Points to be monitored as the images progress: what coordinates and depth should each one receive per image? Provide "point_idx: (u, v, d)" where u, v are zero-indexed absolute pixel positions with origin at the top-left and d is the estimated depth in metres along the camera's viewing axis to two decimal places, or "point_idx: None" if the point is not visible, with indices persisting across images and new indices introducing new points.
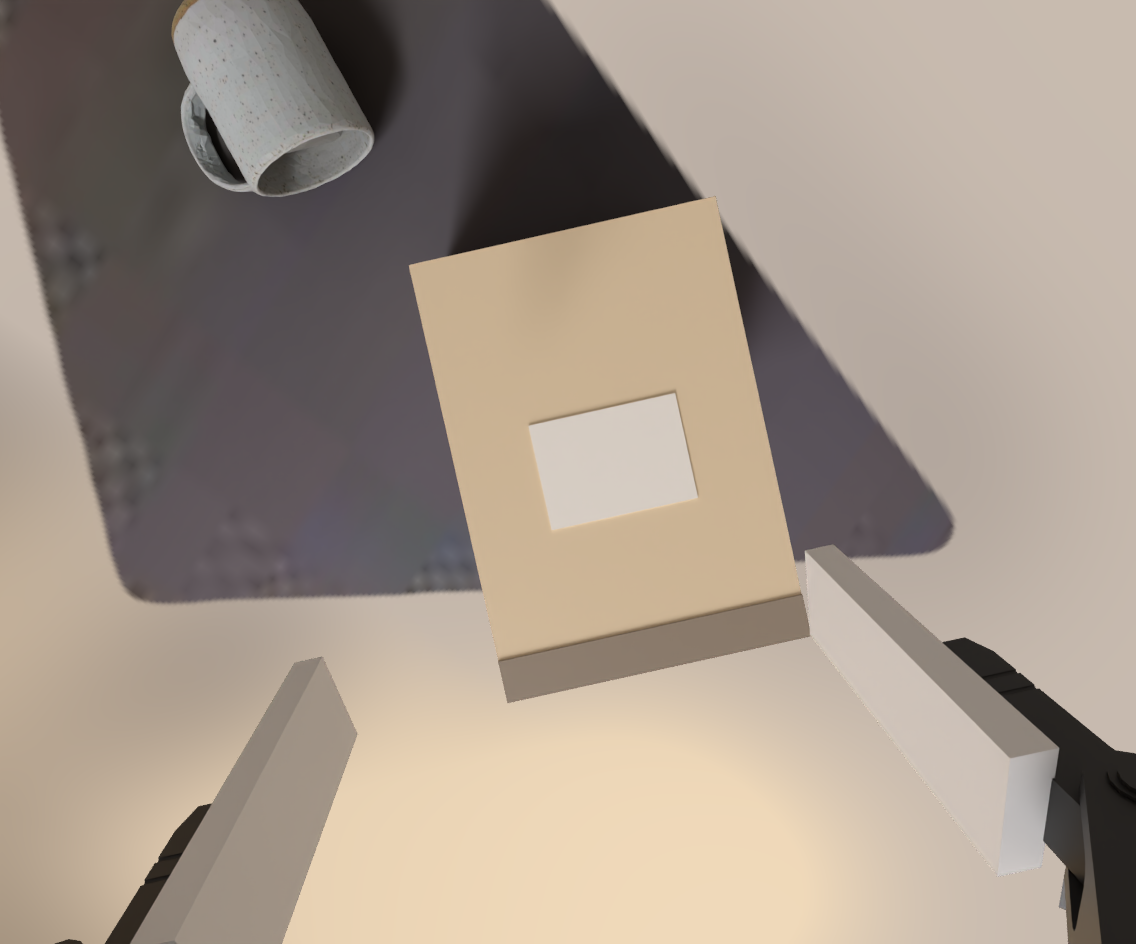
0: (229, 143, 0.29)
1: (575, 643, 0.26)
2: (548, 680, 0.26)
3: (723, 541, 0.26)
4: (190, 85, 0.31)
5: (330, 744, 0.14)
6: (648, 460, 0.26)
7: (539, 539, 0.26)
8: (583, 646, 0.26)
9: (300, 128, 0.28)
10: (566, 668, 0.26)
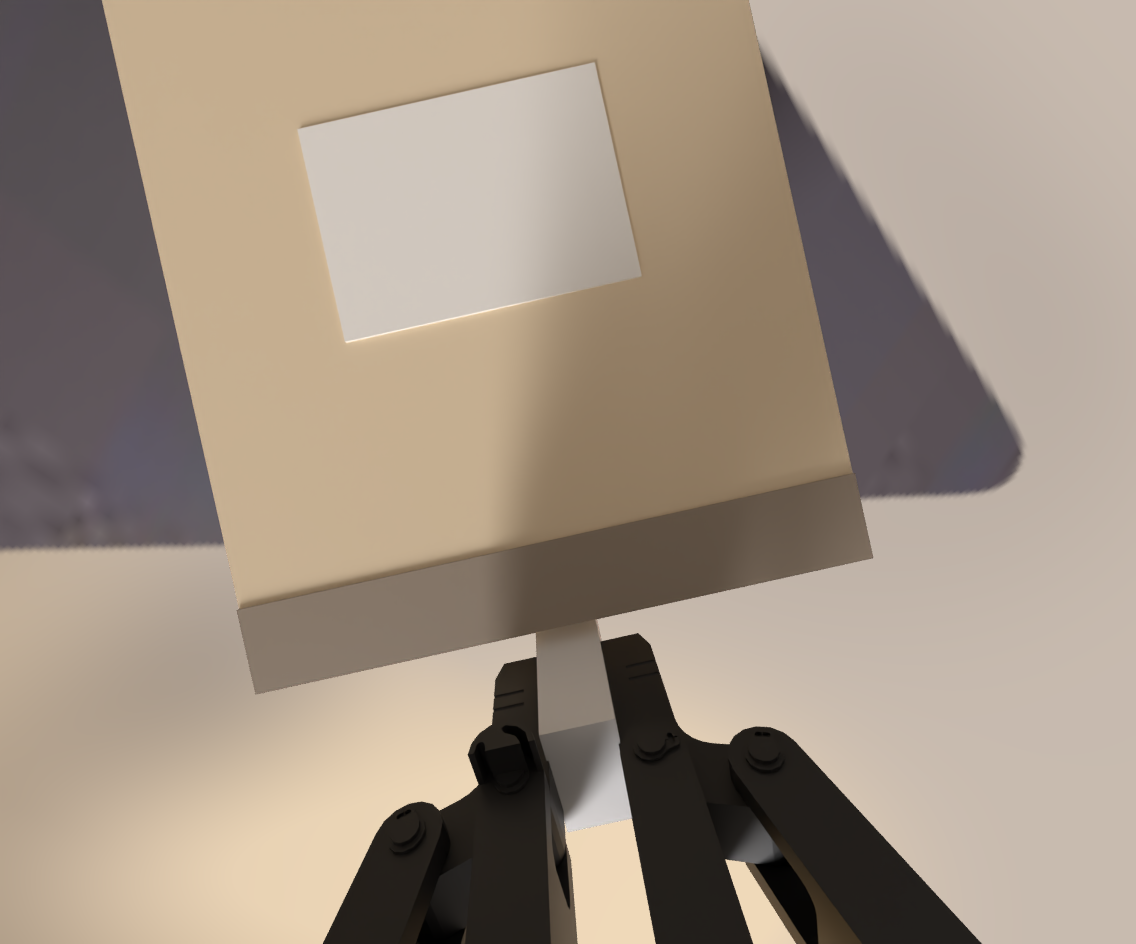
0: None
1: (394, 573, 0.13)
2: (340, 649, 0.13)
3: (693, 366, 0.13)
4: None
5: None
6: (541, 199, 0.13)
7: (322, 362, 0.13)
8: (410, 579, 0.13)
9: None
10: (375, 623, 0.13)
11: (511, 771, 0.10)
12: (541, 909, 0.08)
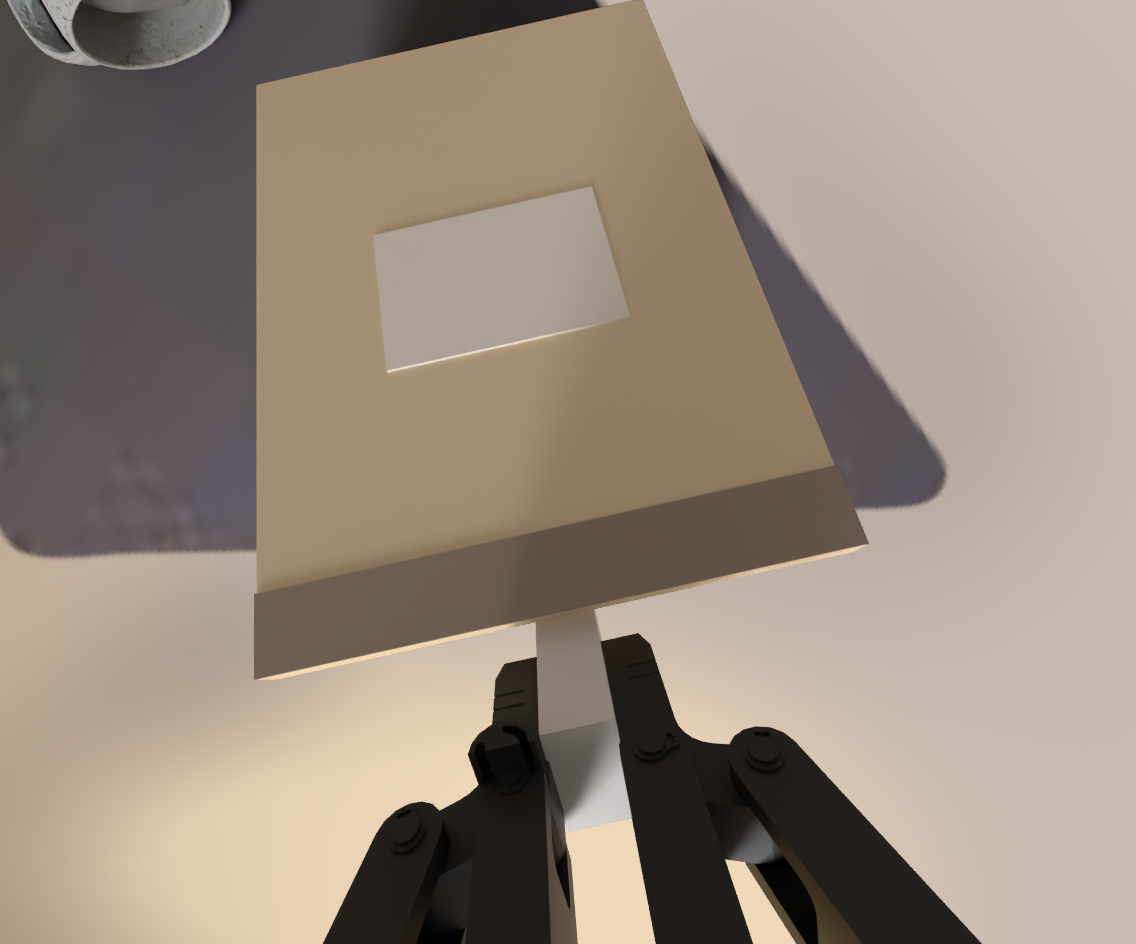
0: None
1: (403, 560, 0.14)
2: (342, 635, 0.13)
3: (678, 381, 0.15)
4: None
5: None
6: (549, 269, 0.16)
7: (366, 387, 0.15)
8: (417, 565, 0.14)
9: None
10: (379, 608, 0.13)
11: (511, 771, 0.10)
12: (541, 909, 0.08)
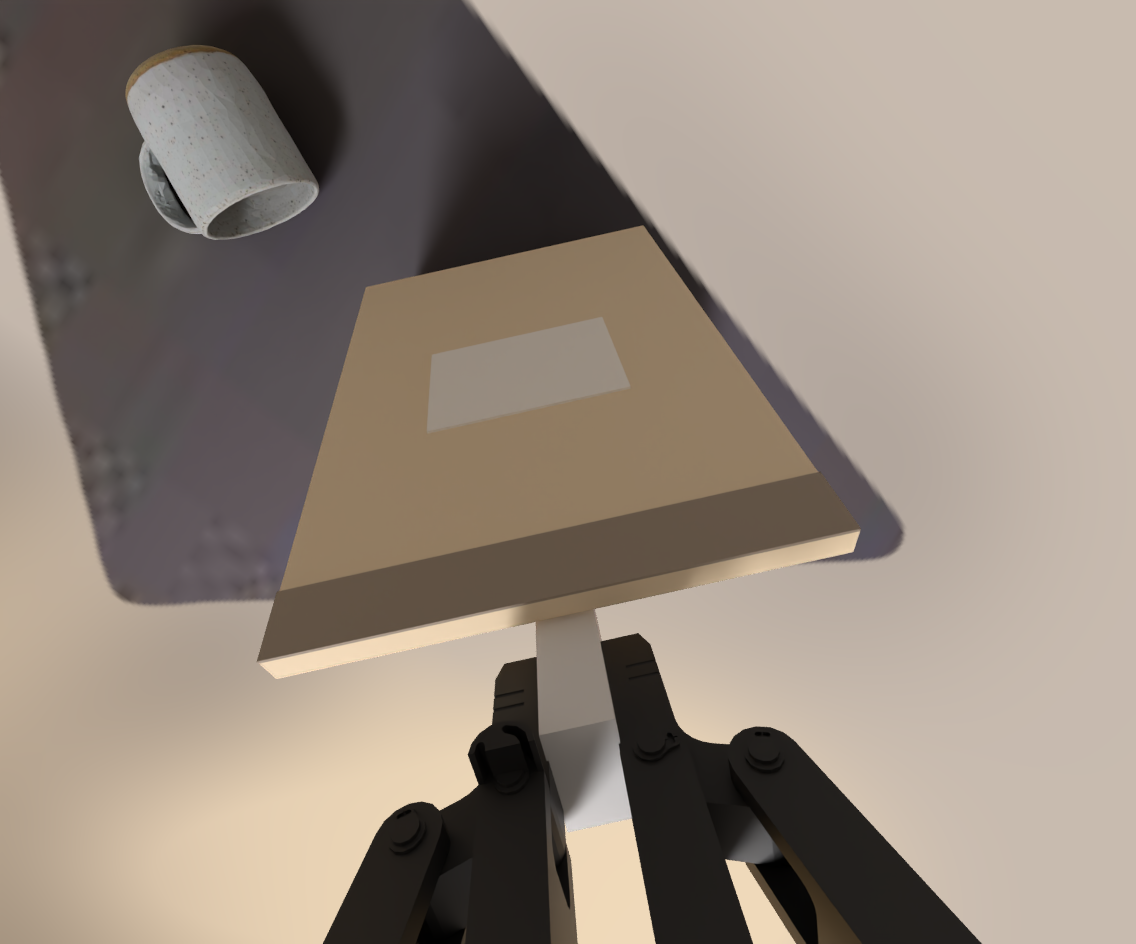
0: (180, 195, 0.32)
1: (416, 561, 0.15)
2: (348, 624, 0.14)
3: (671, 425, 0.17)
4: None
5: None
6: (566, 363, 0.20)
7: (408, 443, 0.18)
8: (427, 564, 0.14)
9: (243, 184, 0.31)
10: (386, 598, 0.14)
11: (511, 771, 0.10)
12: (541, 909, 0.08)
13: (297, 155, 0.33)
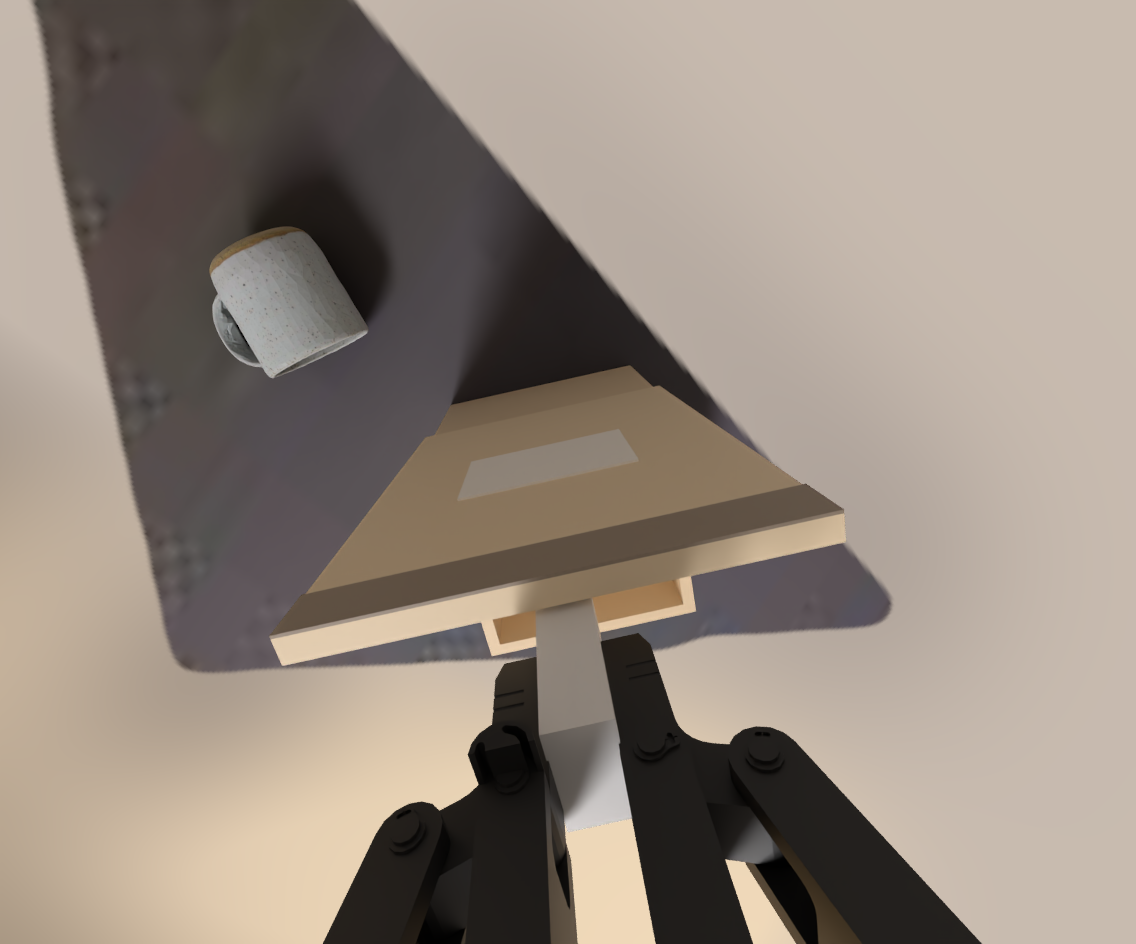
0: (252, 349, 0.37)
1: (430, 568, 0.16)
2: (359, 609, 0.14)
3: (673, 475, 0.19)
4: None
5: None
6: (584, 453, 0.23)
7: (440, 507, 0.21)
8: (440, 568, 0.15)
9: (309, 345, 0.36)
10: (398, 589, 0.15)
11: (511, 771, 0.10)
12: (541, 909, 0.08)
13: (352, 309, 0.38)
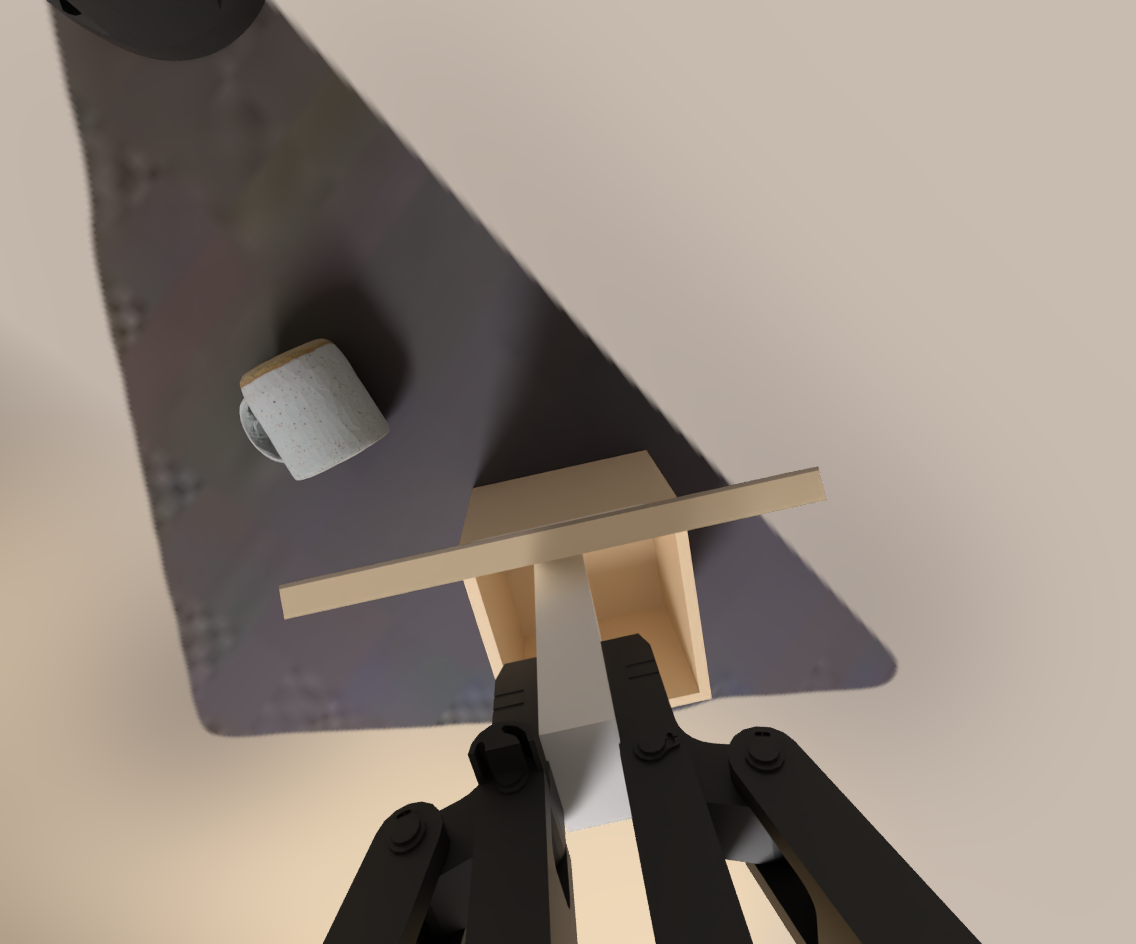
0: (280, 455, 0.39)
1: None
2: None
3: None
4: None
5: None
6: None
7: None
8: None
9: (336, 456, 0.37)
10: None
11: (511, 771, 0.10)
12: (541, 909, 0.08)
13: (375, 414, 0.40)
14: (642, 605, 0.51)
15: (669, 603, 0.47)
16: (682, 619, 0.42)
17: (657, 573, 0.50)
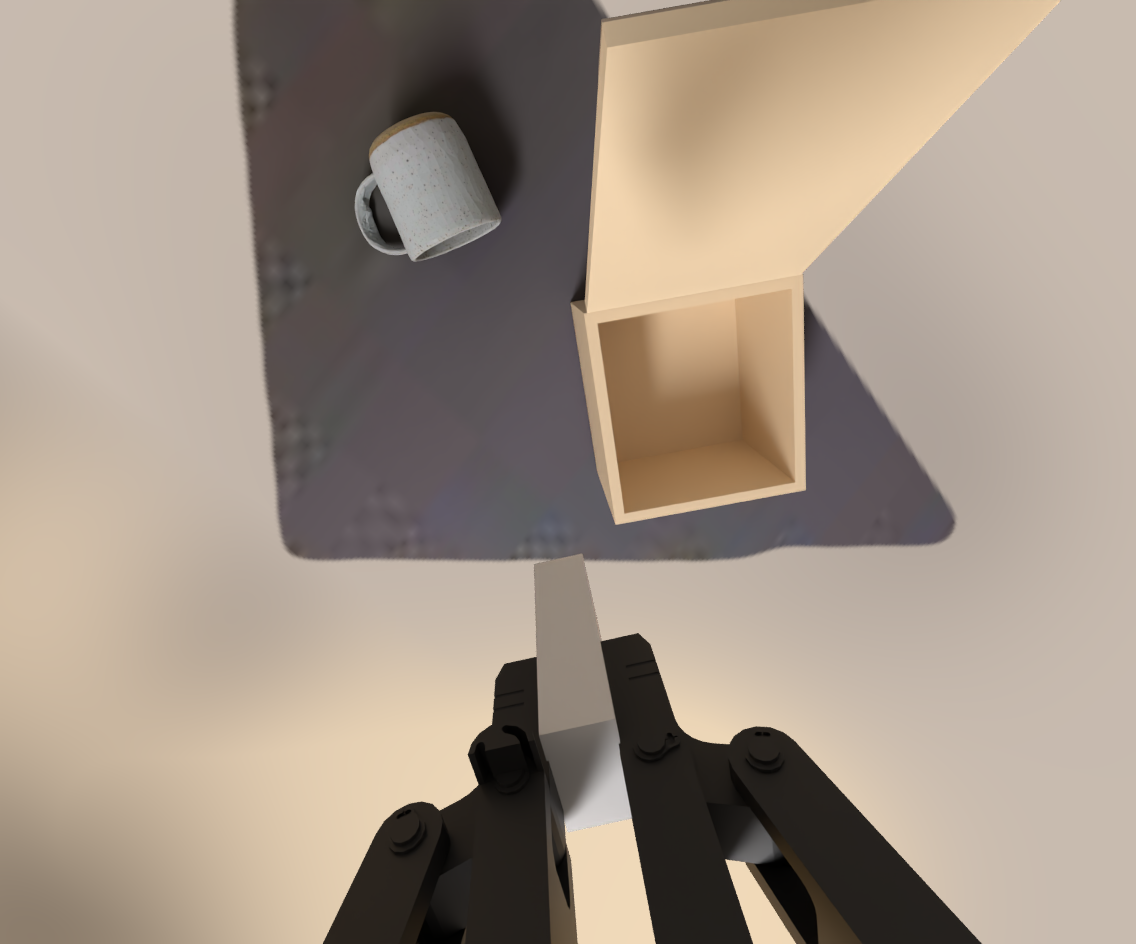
0: (402, 227, 0.40)
1: None
2: None
3: None
4: (367, 178, 0.42)
5: None
6: None
7: None
8: None
9: (460, 223, 0.39)
10: None
11: (511, 771, 0.10)
12: (541, 909, 0.08)
13: (492, 198, 0.41)
14: (721, 437, 0.53)
15: (755, 423, 0.49)
16: (779, 414, 0.43)
17: (739, 403, 0.52)
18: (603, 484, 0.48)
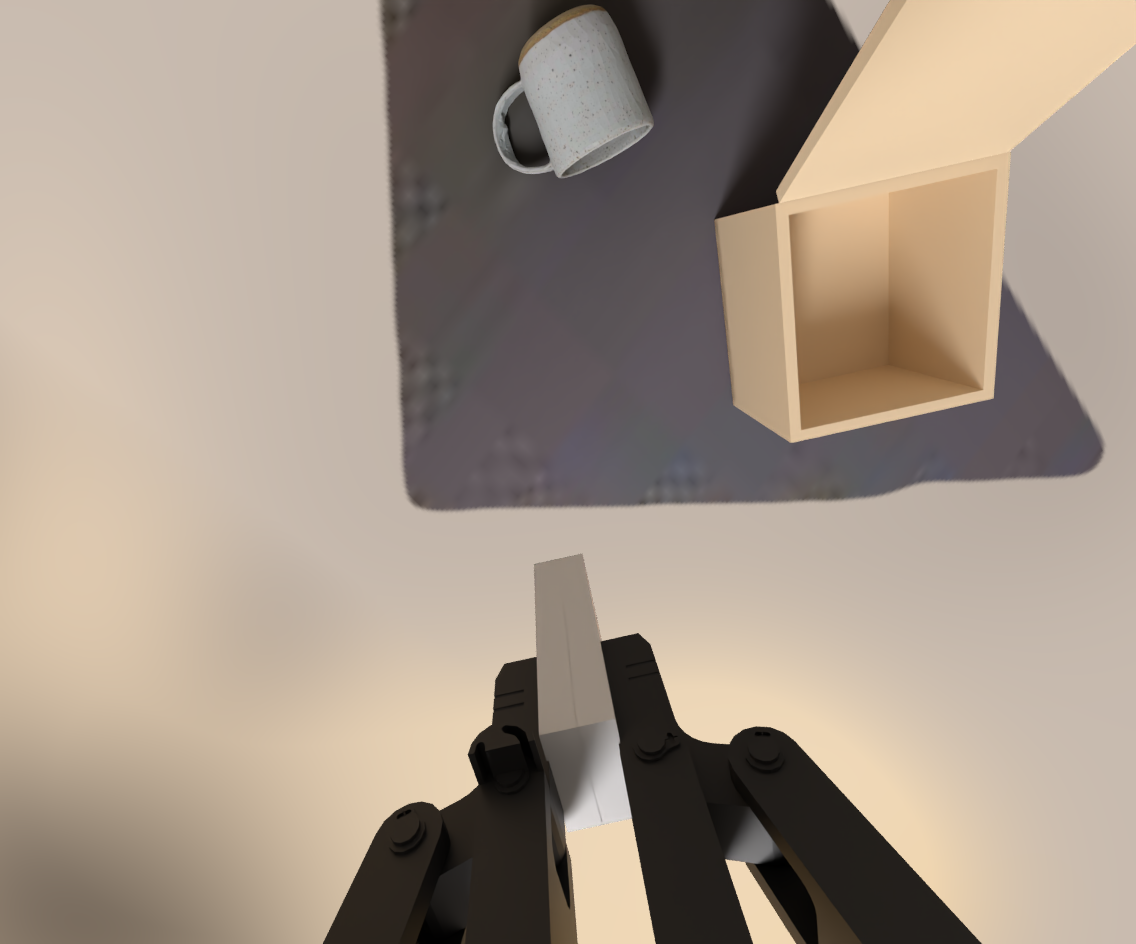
0: (556, 134, 0.38)
1: None
2: None
3: None
4: (510, 88, 0.40)
5: None
6: None
7: None
8: None
9: (623, 123, 0.36)
10: None
11: (511, 771, 0.10)
12: (541, 909, 0.08)
13: None
14: (866, 363, 0.50)
15: (913, 340, 0.46)
16: (960, 319, 0.40)
17: (887, 324, 0.49)
18: (756, 410, 0.46)
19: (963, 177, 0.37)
